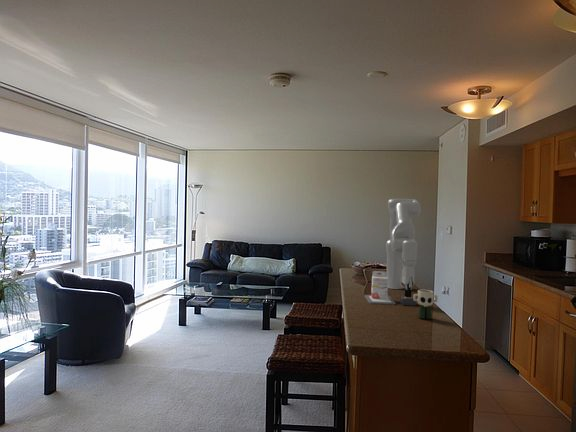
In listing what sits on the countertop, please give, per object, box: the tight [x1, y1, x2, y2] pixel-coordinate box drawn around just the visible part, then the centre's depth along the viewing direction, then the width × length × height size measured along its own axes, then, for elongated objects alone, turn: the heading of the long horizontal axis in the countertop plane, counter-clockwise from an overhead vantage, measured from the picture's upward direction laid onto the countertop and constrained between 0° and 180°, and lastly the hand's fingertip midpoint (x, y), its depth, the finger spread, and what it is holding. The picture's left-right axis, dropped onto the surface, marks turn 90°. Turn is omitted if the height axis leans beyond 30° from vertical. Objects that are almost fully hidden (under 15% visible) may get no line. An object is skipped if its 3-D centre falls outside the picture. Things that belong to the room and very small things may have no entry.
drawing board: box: [364, 294, 397, 305], centre depth 234 cm, size 18×14×1 cm
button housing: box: [399, 295, 417, 307], centre depth 227 cm, size 7×7×4 cm
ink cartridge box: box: [370, 270, 389, 299], centre depth 236 cm, size 9×5×15 cm, turn 86°
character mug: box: [412, 289, 438, 320], centre depth 198 cm, size 11×7×13 cm, turn 80°
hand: (407, 296), depth 227 cm, fingers closed
